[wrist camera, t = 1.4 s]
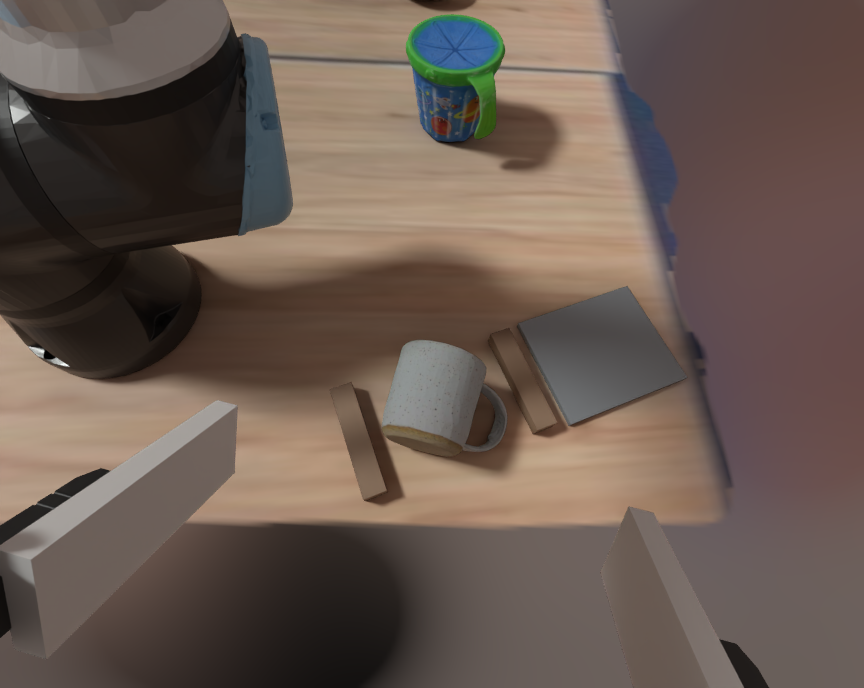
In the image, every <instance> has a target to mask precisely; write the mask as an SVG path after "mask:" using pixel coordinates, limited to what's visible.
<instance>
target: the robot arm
mask: <svg viewBox="0 0 864 688" xmlns="http://www.w3.org/2000/svg"><path fill="white" fill-rule="evenodd" d="M292 207H293V198H292V191H291V184H290V177H289V171H288V165H287V159H286V152H285V146H284V140H283V134H282V128H281V122H280V116H279V110H278V104H277V98H276V92H275V86H274V81H273V75H272V69H271V64H270V59H269V54H268V48H267V45H266V43H265V42H264V41H263V40H262V39H260V38H257V37H251V36H250V35H248V34H246V33H245V34H241V36H240V37H237V36H236V33H235V30H234V27H233V25H232V22H231V19H230V16H229V13H228V11H227V8H226V6H225V4H224V2H223V1H222V0H0V315H1V316H2V317H3V319H4V320H5V321H6V322H7V323H8V324H9V325H10V327H11V328H12V329H13V330H14V331H15V332H16V334H17V335H18V336H19V337H20V338H21V339H22V340H23V342H24V343H25V344H26V345H27V346H28V347H29V348H30V350H31V351H32V352H33V353H34V354H35V355H37V356H38V357H39V358H41V359H42V360H43V361H45V362H47V363H48V364H50V365H52V366H55V367H57V368H59V369H61V370H63V371H65V372H68V373H70V374H73V375H76V376H80V377H85V378H95V379H103V378H113V377H119V376H123V375H127V374H130V373H133V372H136V371H138V370H141V369H143V368H145V367H147V366H149V365H151V364H153V363H155V362H156V361H158V360H160V359H161V358H162V357H164V356H165V355H166V354H168V353H169V352H170V351H171V350H172V349H174V348H175V347H176V346H177V345H178V344H179V343H180V342H181V340H182V339H183V338H184V337H185V336H186V334H187V333H188V331H189V330H190V328H191V327H192V325H193V323H194V321H195V319H196V317H197V314H198V311H199V307H200V302H201V287H200V282H199V279H198V276H197V274H196V272H195V270H194V269H193V267H192V266H191V265H190V264H189V262H188V261H187V260H186V259H185V258H184V256H183V255H182V254H181V253H180V252H179V251H178V250H177V249H176V248H175V247H173V246H172V245H176V244H182V243H189V242H195V241H201V240H208V239H214V238H221V237H227V236H234V235H238V236H242V235H245V234H246V233H247V232H248V231H253V230H257V229H261V228H265V227H270V226H274V225H278V224H280V223H281V222H283V221H284V220H285V219H286V218H287V217H288V216H289V214H290V213H291V210H292ZM237 409H238V405H234V404H230V403H226V402H222V401H218V400H216V401H214V402H213V403H212V404H210V405H209V406H207V407H206V408H204V409H203V410H201V411H200V412H198V413H197V414H195V415H194V416H192V417H191V418H189V419H188V420H186V421H185V422H183V423H182V424H180V425H179V426H177V427H176V428H174V429H173V430H171V431H170V432H168V433H167V434H165V435H164V436H162V437H161V438H159V439H158V440H156V441H155V442H153V443H152V444H150V445H149V446H147V447H146V448H144V449H143V450H141V451H140V452H138V453H137V454H135V455H134V456H132V457H131V458H129V459H128V460H126V461H125V462H124V463H122V464H121V465H119V466H118V467H116V468H115V469H113V470H112V471H109V470H105V469H102V468H100V469H98V470H95V471H92V472H90V473H87V474H85V475H82V476H79V477H77V478H75V479H73V480H72V481H70V482H69V483H67V484H65V485H64V486H62V487H61V488H59V489H57V490H56V491H55V493H54V494H50V495H48V496H46V497H45V498H43V499H42V500H40V501H38V502H37V504H36V505H32V506H31V507H29V508H27V509H26V510H24V511H23V512H21V513H19V514H18V515H16V516H15V517H13V518H12V519H10V520H8V521H7V522H5V523H4V524H2V525H0V638H1V637H2V636H3V635H4V634H5V633H6V632H8V631H9V630H10V631H11V636H12V641H13V646H14V649H15V650H19V651H22V652H25V653H28V654H31V655H34V656H37V657H40V658H43V659H47V658H49V657H50V655H52V654H53V653H54V651H56V649H58V648H59V647H60V646H61V645H62V644H63V642H64V641H66V640H67V639H68V638H69V637H70V636H71V634H73V633H74V632H75V631H76V630H77V629H78V628H79V627H80V626H81V625H82V624H83V623H84V622H85V621H86V620H87V619H88V618H89V617H90V616H91V615H92V614H93V613H94V612H95V611H96V610H97V609H98V608H99V607H100V606H101V605H102V604H103V603H104V602H105V601H106V600H107V599H108V598H109V597H110V596H111V595H112V594H113V593H114V592H115V591H116V590H117V589H118V588H119V587H120V586H121V585H122V584H123V583H124V582H125V581H126V580H127V579H128V578H129V577H130V576H131V575H132V574H133V573H134V572H135V571H136V570H137V569H138V568H139V567H140V566H141V565H142V564H143V563H144V562H145V561H146V560H147V559H148V558H149V557H150V556H151V555H152V554H153V553H154V552H155V551H156V550H157V549H158V548H159V547H160V546H161V545H162V544H163V543H164V542H165V541H166V540H167V539H168V538H169V537H170V536H171V535H172V534H173V533H174V532H175V531H176V530H177V529H178V528H179V527H180V526H181V525H182V524H183V523H184V522H185V521H187V520H188V519H189V518H190V517H191V516H192V515H193V514H194V513H195V512H196V511H197V510H198V509H199V508H200V507H201V506H202V505H203V504H204V503H205V502H206V501H207V500H208V499H209V498H210V497H211V496H212V495H213V494H214V493H215V492H216V491H217V490H218V489H219V488H220V487H221V486H222V485H223V484H224V483H225V482H226V481H227V480H228V479H229V478H230V477H231V476H232V475H233V474H234V473H235V452H236V430H237ZM600 573H601V577H602V580H603V584H604V587H605V591H606V594H607V598H608V601H609V605H610V608H611V612H612V615H613V619H614V622H615V626H616V629H617V632H618V636H619V640H620V643H621V647H622V650H623V654H624V657H625V661H626V664H627V668H628V671H629V675H630V678H631V682H632V685H633V688H769V687H768V685H767V684H766V682H765V680H764V679H763V677H762V675H761V673H760V672H759V670H758V668H757V667H756V666H755V665H754V664H753V662H752V661H751V660H750V659H749V658H748V657H747V655H745V653H744V652H743V651H742V650H741V649H740V647H739V646H738V645H737V644H735V643H731V642H727V641H724V640H720V639H719V638H718V636H717V635H716V633H715V631H714V629H713V627H712V625H711V623H710V621H709V619H708V617H707V615H706V613H705V611H704V609H703V607H702V606H701V604H700V602H699V600H698V598H697V596H696V594H695V592H694V590H693V588H692V586H691V584H690V582H689V580H688V579H687V577H686V575H685V573H684V571H683V569H682V567H681V566H680V563H679V561H678V559H677V558H676V555H675V553H674V552H673V550H672V548H671V546H670V544H669V542H668V540H667V538H666V536H665V534H664V532H663V530H662V528H661V526H660V524H659V523H658V521H657V519H656V517H655V515H654V513H652V512H648V511H644V510H640V509H637V508H633V507H628V509H627V512H626V514H625V516H624V519H623V521H622V523H621V526H620V528H619V530H618V533H617V535H616V537H615V540H614V542H613V544H612V546H611V549H610V551H609V553H608V556H607V558H606V560H605V563H604V565H603V568H602V570H601V572H600Z"/></svg>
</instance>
